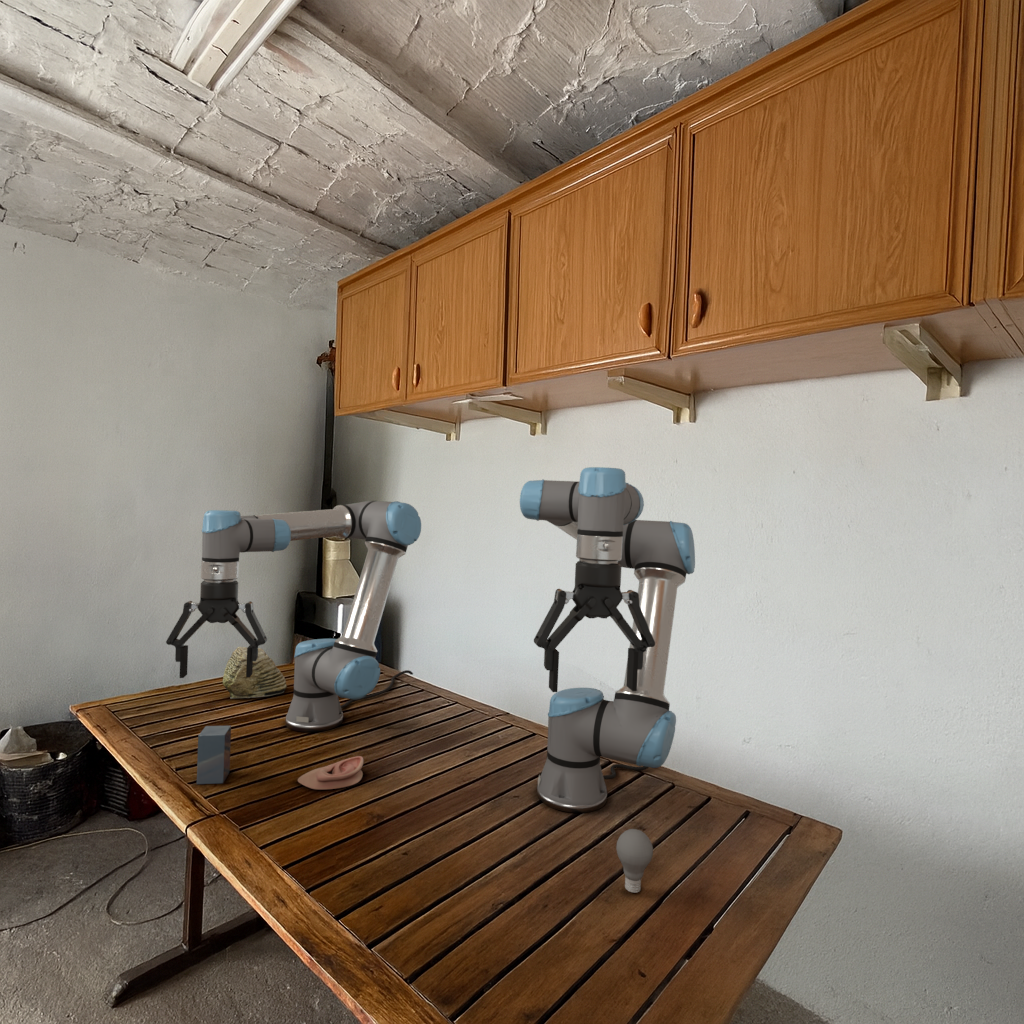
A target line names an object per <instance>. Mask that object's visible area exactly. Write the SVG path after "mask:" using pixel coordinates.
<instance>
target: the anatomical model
mask: <svg viewBox="0 0 1024 1024" xmlns="http://www.w3.org/2000/svg"><path fill="white" fill-rule="evenodd" d="M363 766H364V757H363V756H361V755H356V756H352V757H347V758H346V759H342V760H340V761H336V762H334V763H331V764H328V765H326V766H322V767H318V768H315V769H312V770H310V771H308V772H306V773H304V774H302V775H300V776H299V777H298V778H297V782H298V784H300V785H302V786H304V787H306V788H309V789H312V790H319V791H321V790H333V789H335V790H336V789H342V788H346V787H350V786H353V785H356V784H358V783H359V782H360V781H361V780H362V779H363V775H364V773H363V771H362V768H363Z"/></svg>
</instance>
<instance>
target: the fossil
mask: <svg viewBox="0 0 1024 1024" xmlns="http://www.w3.org/2000/svg"><path fill="white" fill-rule="evenodd" d="M247 648H248V646H246V647H245V646H238V647H237V648H236V649H235V650H233V651H232V653H231V656H230V657H229V659H228V660H227V663H226V666H225V668H224V671H223V675H222V676H223V677H222V685H223V687H224V688H225V690H226V691H228V693H229V698H230V699H250V698H264V697H271V696H275V695H281V694H284V693H285V691H286V689H287V687H288V686H287V680H286V678H285V676H284V674H283V673H282V672H281V669H279V668H278V667H277V665H276V663H275V662H274V660H273V659H272V658H271V657H270V656H269V655H268V654H267V653H266V652H265V650H264V649H263V648H260V647H258V658H257V660H256V661H253V669H252V675H251V676H250V677H246V667H247Z"/></svg>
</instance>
